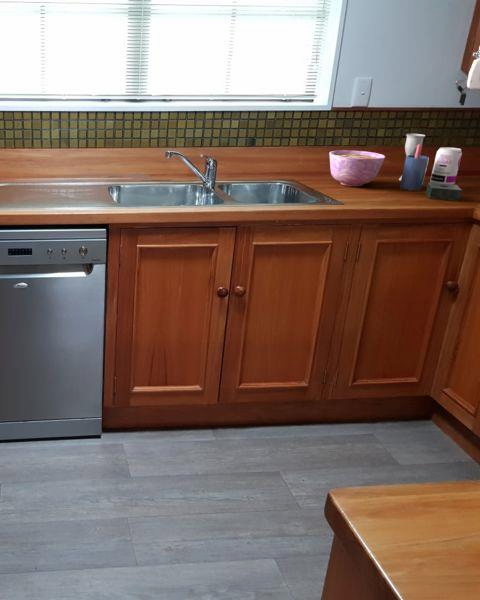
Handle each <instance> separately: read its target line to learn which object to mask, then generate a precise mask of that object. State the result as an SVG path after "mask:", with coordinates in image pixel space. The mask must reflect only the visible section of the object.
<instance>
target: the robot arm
mask: <svg viewBox="0 0 480 600" xmlns="http://www.w3.org/2000/svg"><path fill="white" fill-rule="evenodd" d="M472 57H475V58H476V59H474V60H473V61H472V64H471V66H470V69H469V71H468V75H467V76H465V77H463V78H460V79H457V80H456V81H455V82H454V83H455V86H456V89H457V90H458V92H459V93H460V97H459V101H458V103H459V105H460V106H464V105H465V103H466V98H467V92H468V91H470V90H480V46H478V50H477V51H473V53H472ZM464 82H465V86H464V88H463V87H462V85H461V84H462V83H464Z"/></svg>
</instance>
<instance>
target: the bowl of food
mask: <svg viewBox="0 0 480 600" xmlns="http://www.w3.org/2000/svg"><path fill="white" fill-rule="evenodd" d="M385 159H386V156H385V155H384V154H381V153H377V152H371V151H364V150H351V149H350V150H349V149H347V150H346V149H342V150H332V151H330V152H329V167H330V168H329V169H330V174H331V176H332V178H333V179H334V180H336V181H337V182H339V183H340V185H343V186H348V187H363V186H364V185H366V184H369V183H371V182H373V181H374V180H375V179H376V177H377V175H378V174H379V172H380V169H381V167H382V165H383V163H384V161H385Z"/></svg>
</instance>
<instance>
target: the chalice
mask: <svg viewBox="0 0 480 600" xmlns="http://www.w3.org/2000/svg"><path fill="white" fill-rule="evenodd" d="M405 135H406V139H405V140H406V141H405V145H404V152H405V155H406V156H407V155H415V154H416V149H417V145H418V144H421V145H422V146H423V141H424V138H425V137H426V135H425V134H421V133H406V134H405ZM401 177H402V175H401V176H400V177H399V178H398V180H399V181H401Z"/></svg>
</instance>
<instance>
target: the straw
mask: <svg viewBox="0 0 480 600" xmlns="http://www.w3.org/2000/svg"><path fill="white" fill-rule="evenodd" d="M422 148H423V144H422V145H421V144H418V145H417V149H416V154H415V158H420V156H421V153H422Z"/></svg>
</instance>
